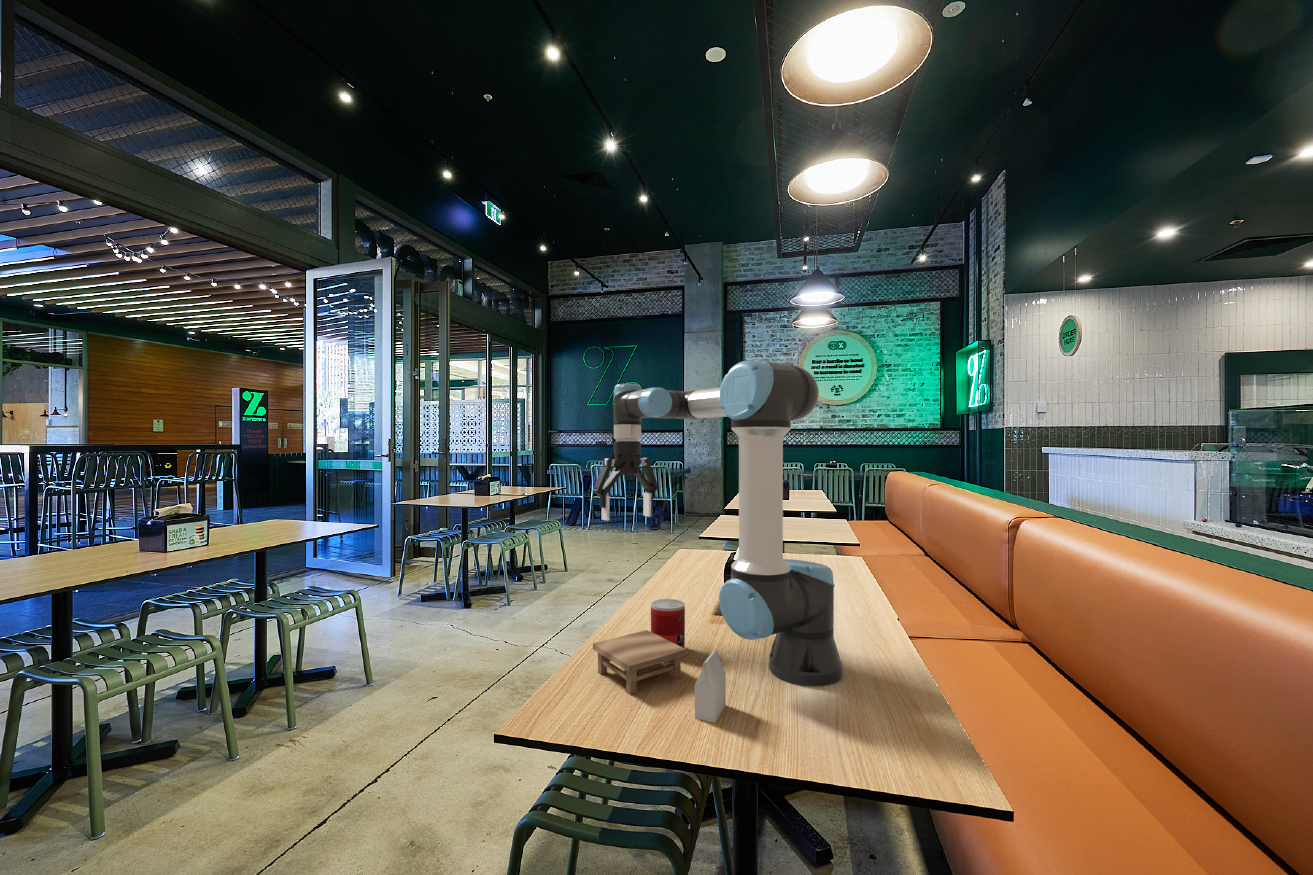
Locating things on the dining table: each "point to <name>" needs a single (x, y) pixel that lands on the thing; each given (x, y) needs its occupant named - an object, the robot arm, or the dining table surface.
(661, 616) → the canned food
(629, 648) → the stool
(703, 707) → the grey pointed block
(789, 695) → the dining table surface
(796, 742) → the dining table surface
